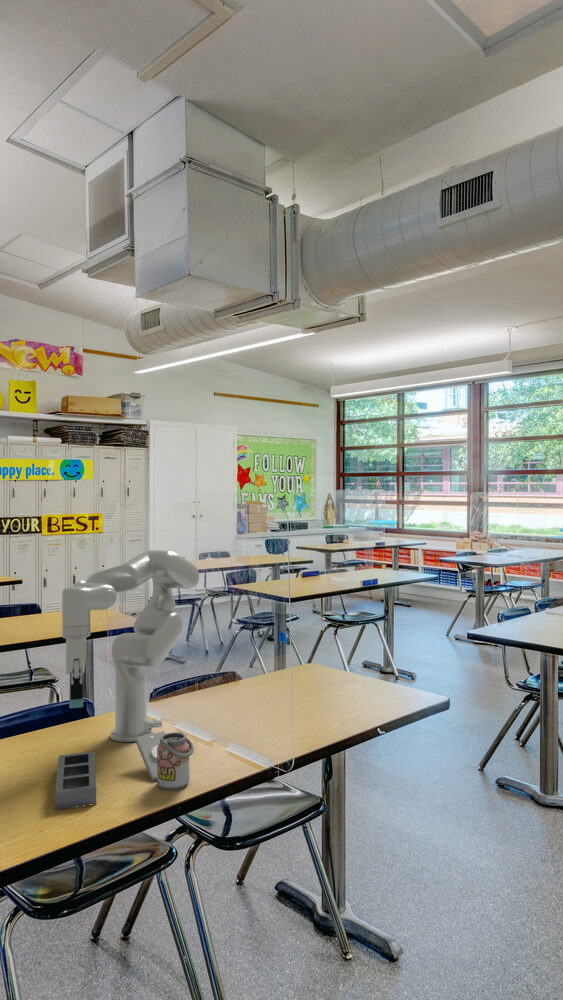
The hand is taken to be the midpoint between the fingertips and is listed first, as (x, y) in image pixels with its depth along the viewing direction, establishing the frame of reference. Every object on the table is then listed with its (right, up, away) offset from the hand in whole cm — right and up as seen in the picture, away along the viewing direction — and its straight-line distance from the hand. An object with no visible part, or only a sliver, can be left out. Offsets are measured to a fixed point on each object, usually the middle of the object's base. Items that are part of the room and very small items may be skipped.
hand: (76, 696), depth 175 cm
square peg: (0, -3, 0) cm, 3 cm away
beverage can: (+30, -18, -16) cm, 39 cm away
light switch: (+24, -18, -7) cm, 31 cm away
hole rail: (+5, -18, -17) cm, 25 cm away
